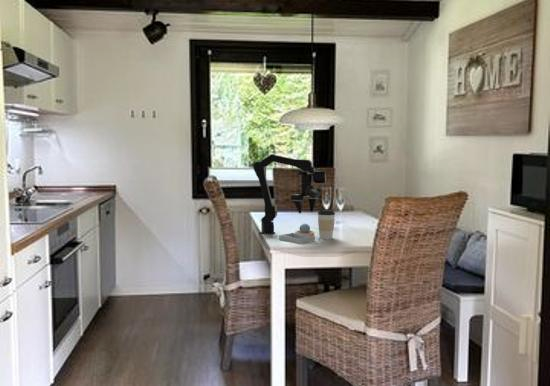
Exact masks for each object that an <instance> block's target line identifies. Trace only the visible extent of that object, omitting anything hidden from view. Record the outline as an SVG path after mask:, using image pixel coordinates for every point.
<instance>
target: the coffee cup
mask: <svg viewBox="0 0 550 386" xmlns="http://www.w3.org/2000/svg"><path fill="white" fill-rule="evenodd" d="M317 217H318V218H317V221H318V223H317V225H318V235H319V239H322V240H331V239H333V236H334V230H335V229H334V228H335V217H336V213H335V211H334V210H333V209H329V208H323V209H322V208H320V209H319V211H317Z"/></svg>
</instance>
